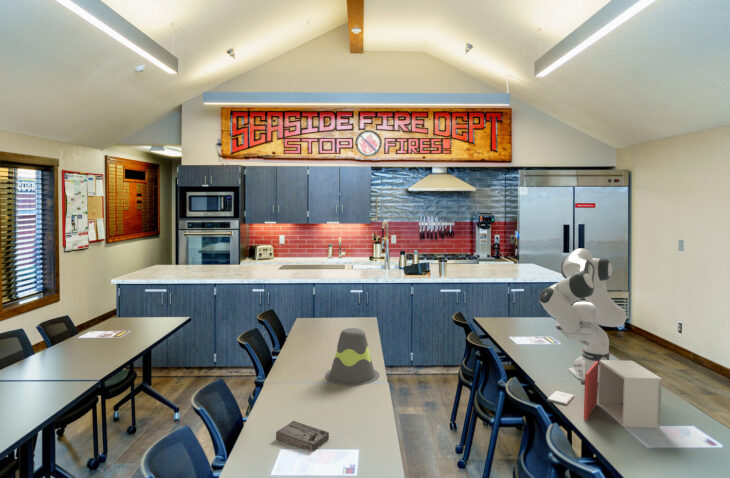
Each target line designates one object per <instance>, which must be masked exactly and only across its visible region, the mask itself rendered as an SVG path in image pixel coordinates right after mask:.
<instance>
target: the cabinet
mask: <svg viewBox="0 0 730 478" xmlns="http://www.w3.org/2000/svg"><path fill="white" fill-rule="evenodd" d="M661 401H662V377H660V376H659V375H657V374H655V373H654V372H652V371H650V370H648V369H647V368H646V367H643V366H641V365H640V364H638V363H637V362H635V361H633V360H616V359H615V360H613V359H611V360H610V359H609V360H600V364H599V383H598V392H597V404H598V406H599V407H600V408H602V409H603V410H604V411H605V412H606V414H608V415H610V416H611V417H612V418H613V420H615V421H616V422H617V423H618V424H620V426H622V427H623V428H645V429H646V428H652V429H654V428H655V429H659V428H660V424H661V404H662V402H661Z"/></svg>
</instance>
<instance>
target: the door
mask: <svg viewBox="0 0 730 478" xmlns="http://www.w3.org/2000/svg"><path fill="white" fill-rule="evenodd" d="M580 384H581V385H583V386H584V395H583V398H584V399H583V400H584V402H583V420H585V421H587V420H588V418H589V416H590V414H592V412H593V410H594V408H595V407H596V406H597V404H598V390H599V383H598V361H595V363H594V364H593V365H592V366H591V367H590V368H589V370H588V371H587V372H586V373H585V380H581V381H580Z"/></svg>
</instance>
